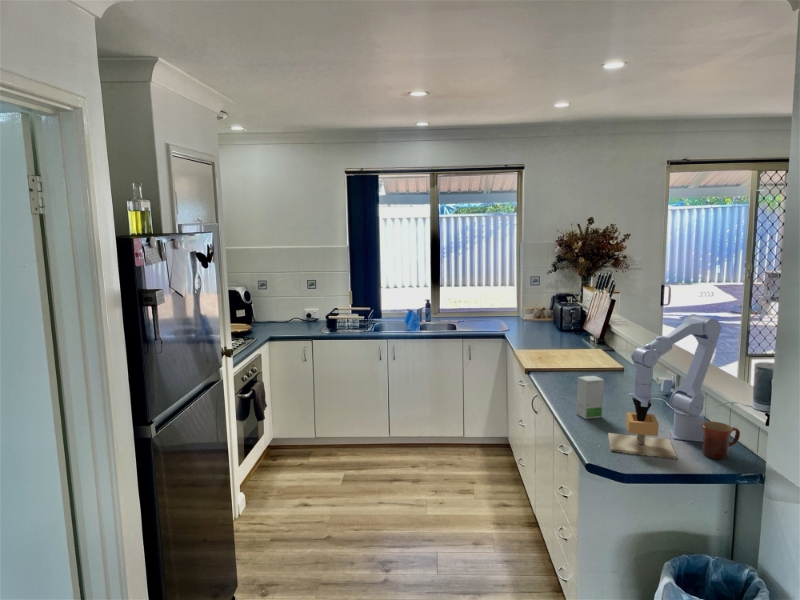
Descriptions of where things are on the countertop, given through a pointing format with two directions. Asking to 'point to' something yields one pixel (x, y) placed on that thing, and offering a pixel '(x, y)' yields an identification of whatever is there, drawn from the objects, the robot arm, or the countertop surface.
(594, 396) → the skincare box
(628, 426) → the wooden open tray
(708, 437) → the mug
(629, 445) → the plate
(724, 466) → the countertop surface
